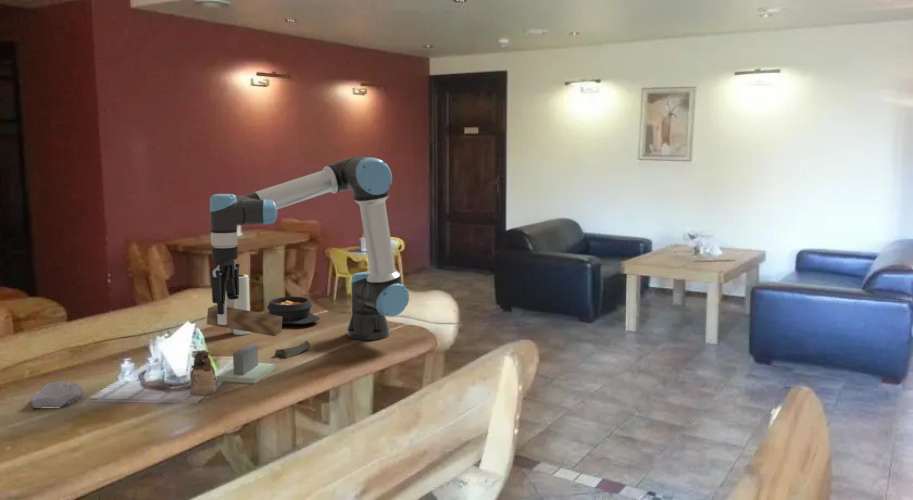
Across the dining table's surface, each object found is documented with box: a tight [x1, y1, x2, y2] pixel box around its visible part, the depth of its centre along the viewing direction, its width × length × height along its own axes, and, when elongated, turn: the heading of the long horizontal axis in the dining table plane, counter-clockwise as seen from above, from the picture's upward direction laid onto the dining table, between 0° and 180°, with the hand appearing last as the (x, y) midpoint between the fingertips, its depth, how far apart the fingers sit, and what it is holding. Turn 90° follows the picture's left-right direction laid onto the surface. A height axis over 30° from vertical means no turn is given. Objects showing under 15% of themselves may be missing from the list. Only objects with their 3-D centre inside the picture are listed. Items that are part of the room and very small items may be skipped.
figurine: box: [189, 349, 218, 396], centre depth 208 cm, size 7×7×12 cm
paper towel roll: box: [225, 273, 251, 336], centre depth 267 cm, size 7×6×21 cm
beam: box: [206, 304, 283, 337], centre depth 223 cm, size 22×4×5 cm, turn 79°
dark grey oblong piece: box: [274, 340, 311, 359], centre depth 245 cm, size 13×5×4 cm, turn 134°
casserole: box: [264, 296, 321, 326], centre depth 285 cm, size 25×19×8 cm
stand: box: [215, 343, 276, 384], centre depth 223 cm, size 12×14×8 cm
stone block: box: [30, 381, 83, 409], centre depth 200 cm, size 12×5×10 cm
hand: (226, 322), depth 224 cm, fingers closed on beam, 4 cm apart
